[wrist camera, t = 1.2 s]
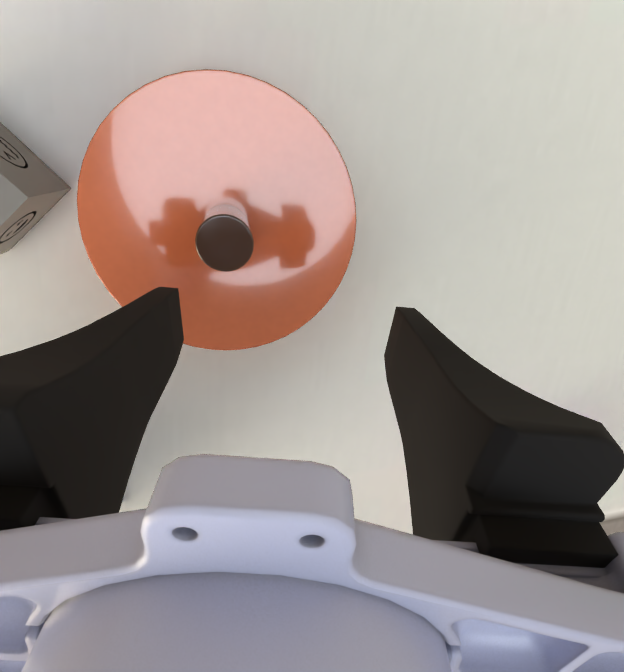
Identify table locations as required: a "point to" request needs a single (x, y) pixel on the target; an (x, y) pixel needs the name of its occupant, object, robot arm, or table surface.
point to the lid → (218, 206)
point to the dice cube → (23, 189)
